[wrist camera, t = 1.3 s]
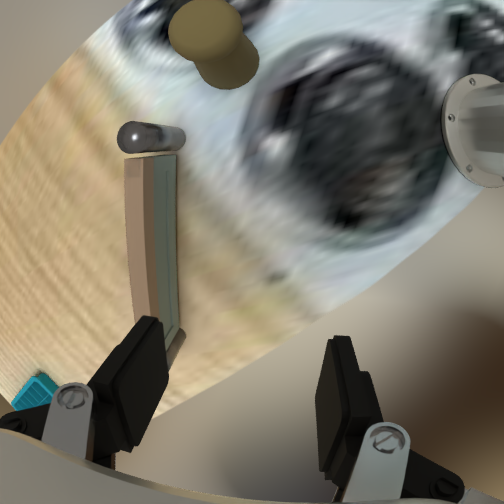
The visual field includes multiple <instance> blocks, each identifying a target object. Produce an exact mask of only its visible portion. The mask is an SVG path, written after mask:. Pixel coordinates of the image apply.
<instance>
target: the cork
mask: <svg viewBox="0 0 504 504" xmlns="http://www.w3.org/2000/svg"><path fill="white" fill-rule="evenodd" d="M242 31H243V24H242V21H241V17H240V14H239V13H238V12H237V10H236V9H235V8H234V7H233V6H232V5H230V4H229V3H227V2H225V1H224V0H193V1H190V2H189V3H187V4H185V5H184V6H182V7H181V8H180V9H179V10H178V11H177V12H176V13H175V14H174V16H173V18H172V20H171V22H170V25H169V31H168V34H169V39H170V43H171V45H172V46H173V48H174V49H175V51H176V52H177V53H178V54H180V55H181V56H182V57H184V58H185V59H187V60H190V61H193V62H194V64H195V66H196V68H197V69H198V71H199V73H200V75H201V76H202V78H203V79H204V81H205V82H207V83H208V84H209V85H211V86H212V87H215V88H218V89H228V90H230V89H234V88H238V87H241V86H242V85H244V84H246V83H248V82H249V81H250V80H251V79H252V78H253V77H254V76H255V73H256V71H257V69H258V67H259V55H258V51H257V49H256V48H255V46H254V45H253V44H252V42H251V41H250V40H249V39H248V38H247V37H246V36H245V35H244V33H243V32H242Z"/></svg>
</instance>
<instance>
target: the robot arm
mask: <svg viewBox="0 0 504 504" xmlns="http://www.w3.org/2000/svg"><path fill="white" fill-rule="evenodd" d="M448 117H449V119H448ZM441 122H442V132H443V137H444V142H445V145H446V147H447V150H448V153H449V155H450V157H451V159H452V161H453V163H454V164H455V165H456V167H457V168H458V170H459V171H460V172H461V173H462V174H463V175H464V176H465V177H466V178H467V179H469V180H470V181H472V182H473V183H475V184H478V185H481V186H484V187H488V188H498V187H501V186H504V82H502V83H500V82H499V81H497V80H496V79H494V78H492V77H490V76H487V75H483V74H472V75H468V76H465V77H463V78H460V79H459V80H458V81H456V82H455V83H454V84H453V85H452V86H451V88H450V89H449V90H448V92H447V95H446V97H445V99H444V103H443V107H442V117H441ZM466 167H467V169H466ZM168 381H169V373H168V365H167V356H166V347H165V338H164V328H163V323H162V322H160V321H159V319H158V318H157V317H152V316H146V315H143V316H142V317H141V318H140V319H139V320H138V322H137V323H136V324H135V325H134V327H133V328H132V329H131V330H130V332H129V333H128V334H127V336H126V337H125V338H124V339H123V341H122V342H121V343H120V344H119V345H117V346H116V347H115V348H114V349H113V351H112V352H111V353H110V355H109V356H108V357H107V359H106V360H105V361H104V362H103V364H102V365H101V366H100V368H99V369H98V370H97V372H96V373H95V374H94V376H93V377H92V378H91V379H90V381H89V382H88V383H87V385H85V384H82V383H77V382H74V383H68V384H64V385H62V386H61V387H59V388H58V389H57V390H56V391H55V393H54V395H53V398H52V401H51V403H48V404H44V405H40V406H36V407H32V408H28V409H23V410H19V411H14V412H11V413H8V414H5V415H4V416H2V418H1V419H0V504H504V501H501V500H499V499H496V498H494V497H492V496H489V495H487V494H485V493H483V492H480V491H478V490H476V489H474V488H470V489H469V490H467V489H465V486H464V483H463V481H462V480H461V478H460V477H459V476H458V475H456V474H455V473H453V472H451V471H449V470H447V469H445V468H443V467H442V466H439V465H438V464H436V463H434V462H432V461H430V460H429V459H427V458H425V457H423V456H421V455H419V454H418V453H416V452H414V451H412V450H411V449H409V447H410V438H409V436H408V434H407V432H406V431H405V430H404V429H403V428H402V427H400V426H398V425H396V424H393V423H388V422H384V421H383V418H382V414H381V411H380V407H379V403H378V400H377V396H376V393H375V390H374V386H373V383H372V379H371V376H370V374H369V372H368V371H360V370H359V366H358V363H357V359H356V355H355V352H354V348H353V345H352V341H351V338H350V336H337V335H335V336H334V338H333V339H328V342H327V347H326V351H325V355H324V360H323V364H322V370H321V373H320V378H319V382H318V386H317V390H316V395H315V406H316V421H317V438H318V456H319V471H320V472H325V480H332V482H333V483H334V484H336V485H337V486H338V488H337V491H336V493H335V496H334V498H333V500H332V503H292V502H272V501H259V500H249V499H240V498H232V497H225V496H218V495H212V494H206V493H201V492H195V491H190V490H185V489H181V488H176V487H172V486H167V485H163V484H159V483H155V482H152V481H148V480H144V479H141V478H137V477H134V476H131V475H127V474H124V473H121V472H118V471H115V460H116V459H115V458H116V454H115V453H116V452H119V451H120V450H123V451H126V452H129V453H131V452H132V449H133V447H134V446H138V445H139V444H140V442H141V440H142V438H143V435H144V433H145V431H146V429H147V427H148V425H149V422H150V421H151V418H152V416H153V414H154V412H155V410H156V408H157V406H158V404H159V401H160V399H161V397H162V395H163V393H164V391H165V389H166V387H167V384H168Z"/></svg>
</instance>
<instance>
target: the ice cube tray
mask: <svg viewBox="0 0 504 504" xmlns="http://www.w3.org/2000/svg"><path fill="white" fill-rule="evenodd" d="M58 388H59V387H58V386H57V385H56V384H55V383H54V382H53V381H52V380H51V379H50V378H49V377H48V376H47V375H46V374H44V373H41V374H40V375H39V376H38V377H36V376H32V377H31V378H30V380H29V381H28V382H27V383H26V384H25V386H24V387H23V388H22V389H21V391H20V392H19V393H18V394H17V396H16V397H15V398H14V399H13V401H12V402H11V404H12V406H13V408H14V409H15V410H16V411H19V410H23V409H28V408H32V407H36V406H40V405H44V404H48V403H51V401H52V398H53V395H54V393H55V391H56V390H57V389H58Z"/></svg>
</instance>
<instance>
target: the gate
mask: <svg viewBox="0 0 504 504" xmlns="http://www.w3.org/2000/svg"><path fill="white" fill-rule="evenodd" d="M175 185H176V155H158V156H148V157H139V158H129V159H124V188H125V219H126V238H127V252H128V265H129V276H130V285H131V295H132V303H133V311H134V319H135V324H136V323H137V322H138V320H139V319H140V318H141V317H142V316H143V315H146V316H152V317H157V318H158V319H159V321H160V322H162V323H163V328H164V338H165V347H166V351H167V349H168V347H169V345H170V344H171V342H172V340H173V338H174V336H175V335H176V333H177V331H178V329H179V312H178V293H177V270H176V227H175Z"/></svg>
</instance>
